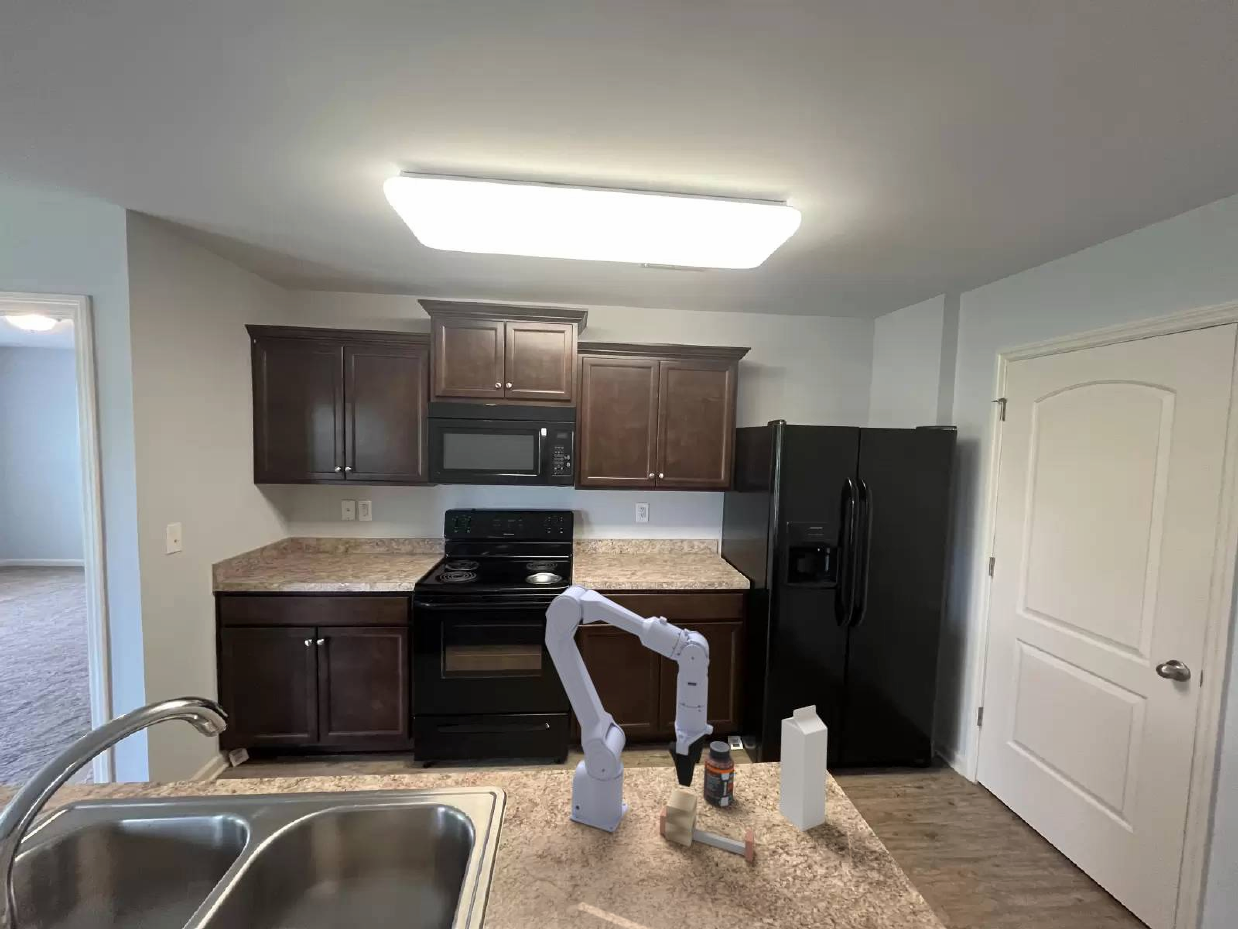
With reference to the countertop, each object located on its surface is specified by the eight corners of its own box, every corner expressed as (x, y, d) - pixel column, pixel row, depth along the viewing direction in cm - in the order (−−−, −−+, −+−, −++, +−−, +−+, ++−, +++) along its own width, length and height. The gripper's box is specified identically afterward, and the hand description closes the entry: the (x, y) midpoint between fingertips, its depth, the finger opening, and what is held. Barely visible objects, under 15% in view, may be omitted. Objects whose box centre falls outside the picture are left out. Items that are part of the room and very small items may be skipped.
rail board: (653, 849, 87) (653, 825, 87) (666, 816, 96) (667, 795, 96) (751, 881, 81) (752, 855, 81) (756, 843, 89) (757, 820, 90)
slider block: (665, 839, 89) (666, 805, 89) (672, 821, 93) (673, 789, 93) (690, 846, 87) (691, 812, 87) (695, 828, 91) (697, 795, 92)
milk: (778, 816, 97) (781, 703, 97) (801, 807, 100) (803, 698, 100) (802, 837, 91) (805, 717, 92) (825, 827, 94) (828, 711, 95)
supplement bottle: (733, 814, 97) (735, 756, 97) (702, 809, 98) (704, 752, 98) (732, 795, 103) (734, 740, 103) (703, 790, 104) (705, 736, 104)
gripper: (705, 722, 85) (702, 802, 84) (719, 689, 98) (717, 757, 98) (665, 714, 87) (663, 791, 87) (685, 682, 101) (682, 749, 101)
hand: (689, 773), depth 93 cm, fingers open, 7 cm apart
